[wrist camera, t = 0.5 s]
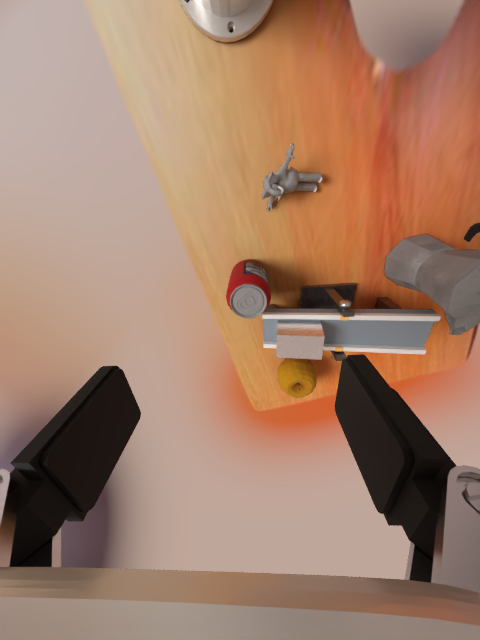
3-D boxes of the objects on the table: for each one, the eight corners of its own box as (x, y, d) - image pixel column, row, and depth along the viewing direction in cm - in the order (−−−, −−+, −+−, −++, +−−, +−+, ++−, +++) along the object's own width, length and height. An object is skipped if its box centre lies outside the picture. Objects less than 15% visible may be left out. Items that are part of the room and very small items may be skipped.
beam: (263, 308, 38) (262, 315, 36) (431, 309, 33) (441, 317, 31) (264, 340, 42) (263, 348, 40) (417, 345, 36) (425, 355, 34)
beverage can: (272, 281, 42) (280, 309, 31) (242, 298, 44) (240, 329, 33) (254, 251, 39) (257, 270, 29) (224, 270, 41) (215, 295, 30)
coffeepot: (413, 297, 42) (510, 356, 27) (368, 289, 42) (439, 344, 26) (467, 211, 35) (647, 222, 19) (412, 200, 34) (550, 203, 19)
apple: (267, 357, 51) (271, 385, 43) (300, 341, 48) (309, 368, 41) (285, 379, 54) (291, 409, 47) (316, 365, 52) (328, 394, 44)
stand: (265, 286, 42) (270, 312, 33) (391, 277, 40) (435, 302, 31) (267, 333, 48) (271, 366, 38) (377, 327, 46) (411, 361, 36)
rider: (277, 319, 37) (276, 335, 33) (320, 319, 36) (324, 336, 32) (277, 339, 39) (276, 357, 35) (317, 341, 38) (321, 359, 34)
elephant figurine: (307, 222, 36) (258, 224, 34) (296, 195, 38) (248, 195, 36) (346, 163, 27) (282, 160, 25) (329, 131, 29) (268, 125, 26)
